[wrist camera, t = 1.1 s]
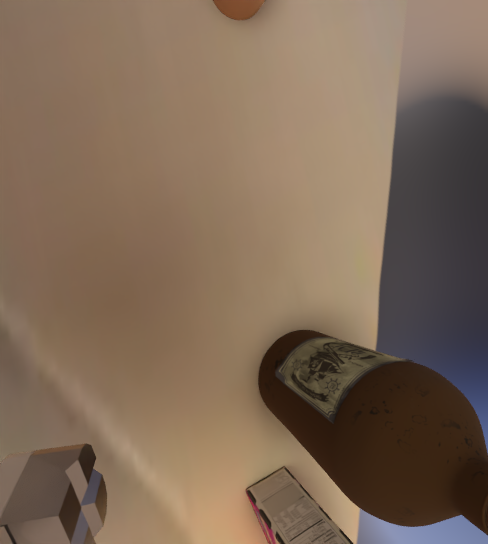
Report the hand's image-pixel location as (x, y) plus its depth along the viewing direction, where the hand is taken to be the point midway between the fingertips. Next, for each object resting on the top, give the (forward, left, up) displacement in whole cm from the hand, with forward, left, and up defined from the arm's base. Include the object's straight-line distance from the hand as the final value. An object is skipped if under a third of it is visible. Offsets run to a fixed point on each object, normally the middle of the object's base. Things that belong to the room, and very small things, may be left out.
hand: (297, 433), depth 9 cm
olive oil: (+19, 0, -32) cm, 37 cm away
